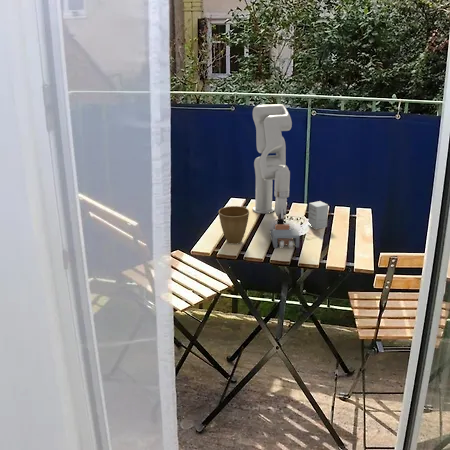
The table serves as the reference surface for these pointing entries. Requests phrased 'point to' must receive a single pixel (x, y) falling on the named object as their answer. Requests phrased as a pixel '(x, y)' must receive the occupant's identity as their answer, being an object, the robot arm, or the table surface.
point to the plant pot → (234, 223)
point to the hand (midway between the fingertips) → (280, 226)
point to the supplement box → (318, 214)
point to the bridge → (285, 234)
